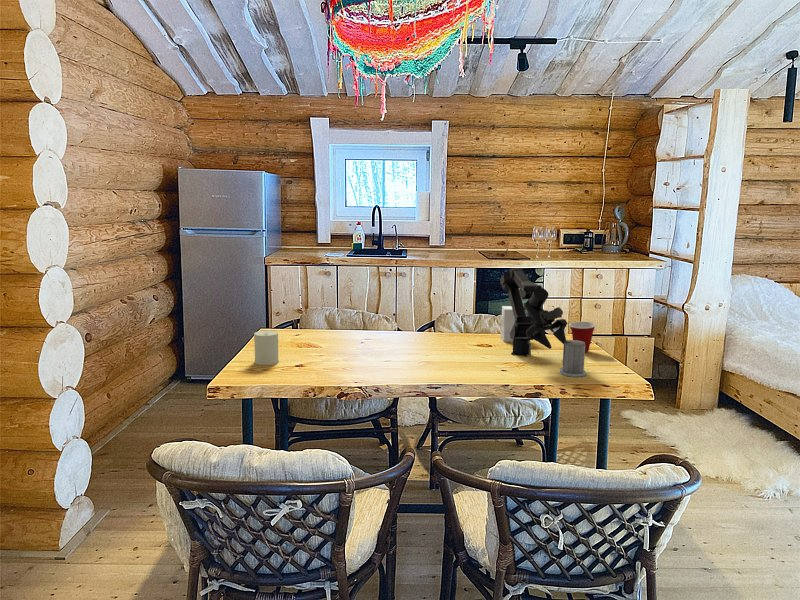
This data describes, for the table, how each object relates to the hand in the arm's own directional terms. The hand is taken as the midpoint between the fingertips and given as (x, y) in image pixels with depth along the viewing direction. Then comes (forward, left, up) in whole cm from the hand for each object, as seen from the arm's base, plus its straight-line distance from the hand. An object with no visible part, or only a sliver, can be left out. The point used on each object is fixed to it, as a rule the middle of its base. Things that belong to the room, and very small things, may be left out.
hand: (558, 346), depth 240 cm
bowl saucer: (+7, -3, -9) cm, 11 cm away
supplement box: (-31, +36, -9) cm, 49 cm away
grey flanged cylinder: (+7, -3, -8) cm, 11 cm away
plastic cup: (+1, +32, -9) cm, 33 cm away
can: (-98, -52, -9) cm, 112 cm away
